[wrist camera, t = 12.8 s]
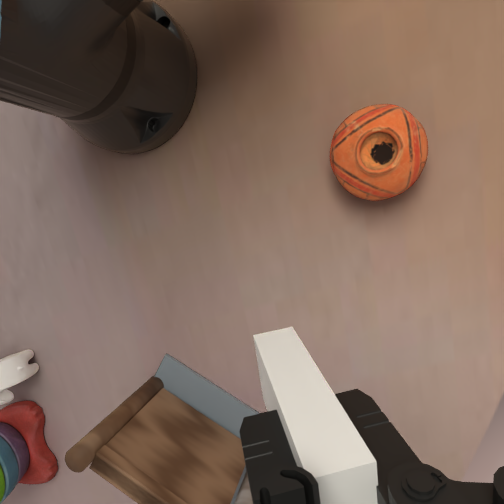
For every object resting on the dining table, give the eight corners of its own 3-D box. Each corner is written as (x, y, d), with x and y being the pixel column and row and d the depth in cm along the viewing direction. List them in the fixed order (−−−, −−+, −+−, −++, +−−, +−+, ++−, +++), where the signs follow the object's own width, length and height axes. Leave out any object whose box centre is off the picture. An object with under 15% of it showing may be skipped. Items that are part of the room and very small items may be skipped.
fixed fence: (145, 388, 45) (48, 476, 30) (154, 370, 44) (59, 451, 30) (269, 470, 42) (227, 610, 28) (280, 452, 42) (243, 586, 27)
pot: (445, 135, 34) (455, 140, 28) (388, 206, 38) (386, 224, 32) (369, 86, 35) (363, 82, 29) (320, 160, 38) (306, 170, 32)
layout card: (108, 470, 48) (106, 471, 47) (166, 353, 44) (165, 354, 43) (322, 624, 43) (322, 627, 43) (409, 509, 39) (410, 512, 39)
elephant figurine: (-8, 345, 50) (-55, 364, 44) (38, 329, 48) (-4, 346, 42) (10, 394, 50) (-33, 419, 44) (58, 380, 48) (18, 404, 42)
